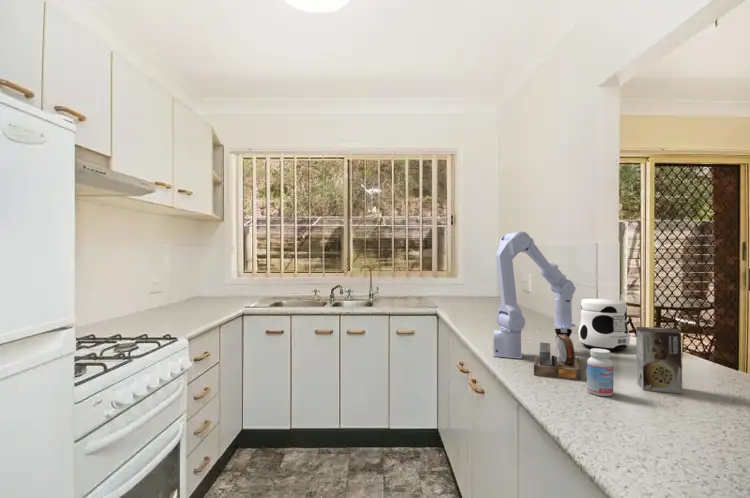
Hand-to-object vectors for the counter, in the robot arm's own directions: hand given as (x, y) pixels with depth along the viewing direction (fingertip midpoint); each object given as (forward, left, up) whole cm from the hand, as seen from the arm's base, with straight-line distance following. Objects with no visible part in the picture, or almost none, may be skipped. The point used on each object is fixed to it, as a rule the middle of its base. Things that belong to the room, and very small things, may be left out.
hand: (563, 348), depth 151 cm
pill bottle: (+8, -42, -2) cm, 43 cm away
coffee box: (+23, -32, -2) cm, 40 cm away
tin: (0, -12, -2) cm, 13 cm away
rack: (-3, -25, -1) cm, 25 cm away
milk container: (+15, +15, -2) cm, 21 cm away
